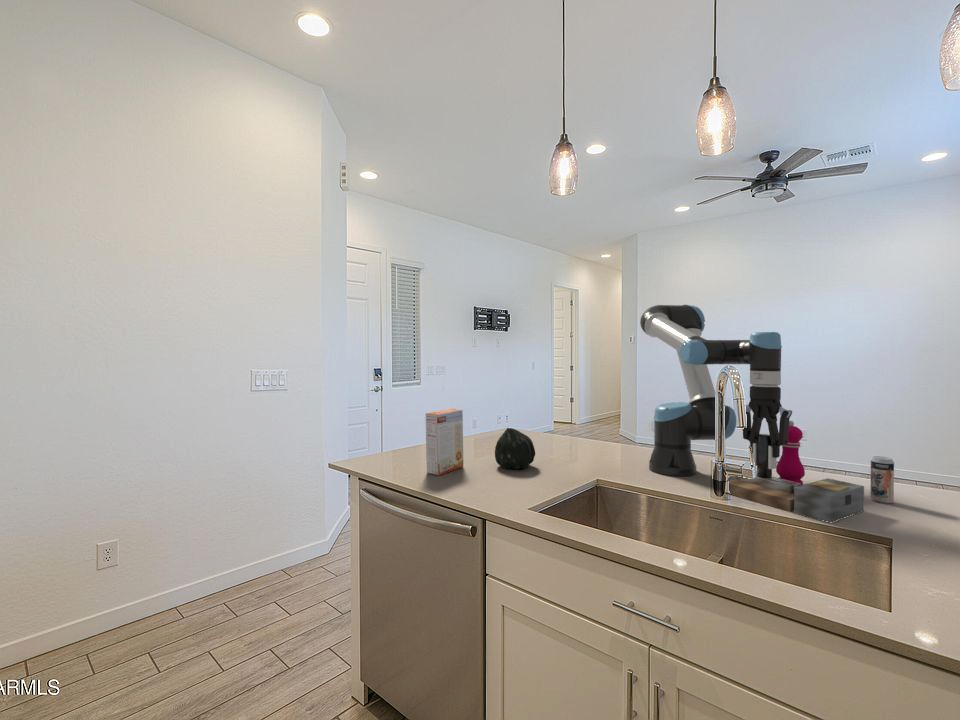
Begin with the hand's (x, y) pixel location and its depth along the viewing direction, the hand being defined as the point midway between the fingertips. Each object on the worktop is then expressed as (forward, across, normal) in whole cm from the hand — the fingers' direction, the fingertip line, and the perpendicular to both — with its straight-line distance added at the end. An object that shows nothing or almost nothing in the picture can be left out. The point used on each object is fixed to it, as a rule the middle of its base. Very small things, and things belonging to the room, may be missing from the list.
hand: (764, 466), depth 126 cm
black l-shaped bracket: (+5, +3, 0) cm, 6 cm away
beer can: (+8, +19, +22) cm, 30 cm away
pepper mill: (+8, -1, +16) cm, 18 cm away
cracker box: (+8, -69, -70) cm, 99 cm away
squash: (+8, -61, -46) cm, 77 cm away
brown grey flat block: (+8, +6, 0) cm, 10 cm away
